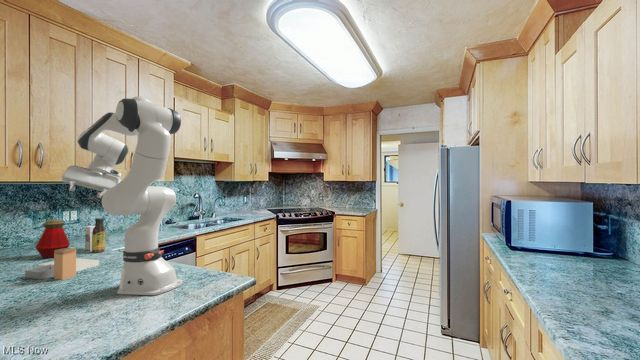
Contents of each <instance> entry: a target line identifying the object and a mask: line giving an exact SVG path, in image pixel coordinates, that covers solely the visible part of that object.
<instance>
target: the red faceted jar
mask: <svg viewBox="0 0 640 360" xmlns="http://www.w3.org/2000/svg"><path fill="white" fill-rule="evenodd" d="M43 226H44V231H43V233H42V234H41V236H40V238H39V241H38V242H37V244H36V246H35V249H36V252H37V251H38V253H39V255H40V256H41V258H42V259H54V250H59V249H64V248H70V245H71V243H70V241H69V239H68V236H67V234H66V232H65V230H64V228H63V227H64V226H65V221H63V220H62V219H48V220H46V221H45V222H44V223H43Z"/></svg>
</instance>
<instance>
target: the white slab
mask: <svg viewBox="0 0 640 360" xmlns="http://www.w3.org/2000/svg"><path fill="white" fill-rule="evenodd" d="M98 266H100V259H93V258H92V259H90V258H80V257H78V258H77V257H76V273H77V272H80V271H84V270H87V269H90V268H95V267H98ZM49 277H54V260H53V261H48V262H44V263H39V264H37V267H33V268H30V269H26V270H24V278H25V279H26V278H27V279H34V280H35V279H36V280H42V279H46V278H49Z"/></svg>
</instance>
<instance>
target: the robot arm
mask: <svg viewBox="0 0 640 360" xmlns="http://www.w3.org/2000/svg"><path fill="white" fill-rule="evenodd" d="M181 125H182V118H181V115H180V113H179V111H176V110H174V109H173V108H169V107H165V106H162V105H158V104H156V103H154V102H152V101H151V100H150V99H148V98H146V97H143V96H134V97H132V98H127V97H126V98H122V99H121V100H119V101H118V103H117V106H116V107H115V112H111V111H109V112H107V113H105V114H104V115H102V116H101V117H100V118H99V119H97V121H95V122H94V123H93V124H92V125H91V126H90V127H88V128H86V129H85V130H83V131H82V132H81V133H80V134H79V136H78V138H77V144H78V145H79V147H80V148H81V149H82V150H86V151H89V152H91V153H93V154H96V155H94V157H93V160H92V161H91V162H90V163H89V164H88V166H87V167H82V166H78V165H75V164H74V165H69V166H68V167H67V168H66V171H64V172H63V173H62V175H61V181H62V182H63V183H68V184H69V189H68V191H69V192H73V193H74V192H75V190H76V186H79V187H83V188H87V189H90V190H96V191H99V192H97V194H96V198H98V199H101V206H102V209H103V210H104V211H105V212H106V213H107V214H108V215H112V216H124V217H125V216H132V215H133V216H134V215H140V216H139V218H138V220H136V222H134V223H133V224H131V225H130V226H129V227H128V228H127V229H126V230H125V232H124V250H123V253H122V260H123V266H122V270H121V272H120V273H121V275H120V280H119V281H120V282H119V287H118V290H117V292H116V294H117V295H130V296H131V295H134V296H135V295H137V296H139V295H141V296H156V295H160V294H163V293H167V292H169V291H172V290H174V289H176V288H178V287H180V286H181V285H182V284H183V283H184V281H183V279H181V278H177V274H176V269H175V267H173V265H171V264H170V263H168V261H166V260H165V259H164V258H163V257H162V256H163V255H162V254H163V253H164V251H165V250H164V249H163V250H160V247H159V233H160V232H159V231H160V226H161V223H162V222H163V220H164V218H165V216H166V215H167V214H168V213H169V212H170V211H171V210H172V209H174V206H175V205H176V204H177V203H176V202H177V195H176V193H175V191H174V190H173V189H172V188H170V187H166V186H159V185H158V186H157V185H155V186H154V185H153V186H151V184H153V183H155V182H157V181H159V180H161V179H162V178H163V177H164V176H165V174H166V169H167V165H168V161H169V157H170V152H171V151H170V150H171V143H172V142H171V135H174V134H176V133H178V131H179V130H180V128H181ZM105 131H111V132H114V133H119V134H120V135H121V134H122V135H124V136H133V137H134V136H138V140H137V142H136V143H137V144H136V146H135V150H134V155H133V160H132V164H131V166H130V169H129V171H128V172H127V174H126V175H125V177H124V178H123V179H122V180H121V178H122V173H121V172H120V171H119V170H116V169H114V168H115V167H116V165H117V166H118V165H120V164H122V163H123V162H124V160H125V158H126V156H127V154H128V153H129V148H128V146H127V144H126V143H125V142H122V141H120V140H118V139H117V138H114V137H112V136H110V135H107V134H105V133H104V132H105Z"/></svg>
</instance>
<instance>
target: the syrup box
mask: <svg viewBox="0 0 640 360" xmlns="http://www.w3.org/2000/svg"><path fill="white" fill-rule="evenodd" d="M94 227H95V224H90V225H87V226H86V225H85V229H84V230H85V232H84V233H85V234H84V236H85V237H84V238H85V241H84V243H85V244H84V245H85V246H84V247H85V250H86V251H91V252H92V249H91V248H92V231H93V228H94Z"/></svg>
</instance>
